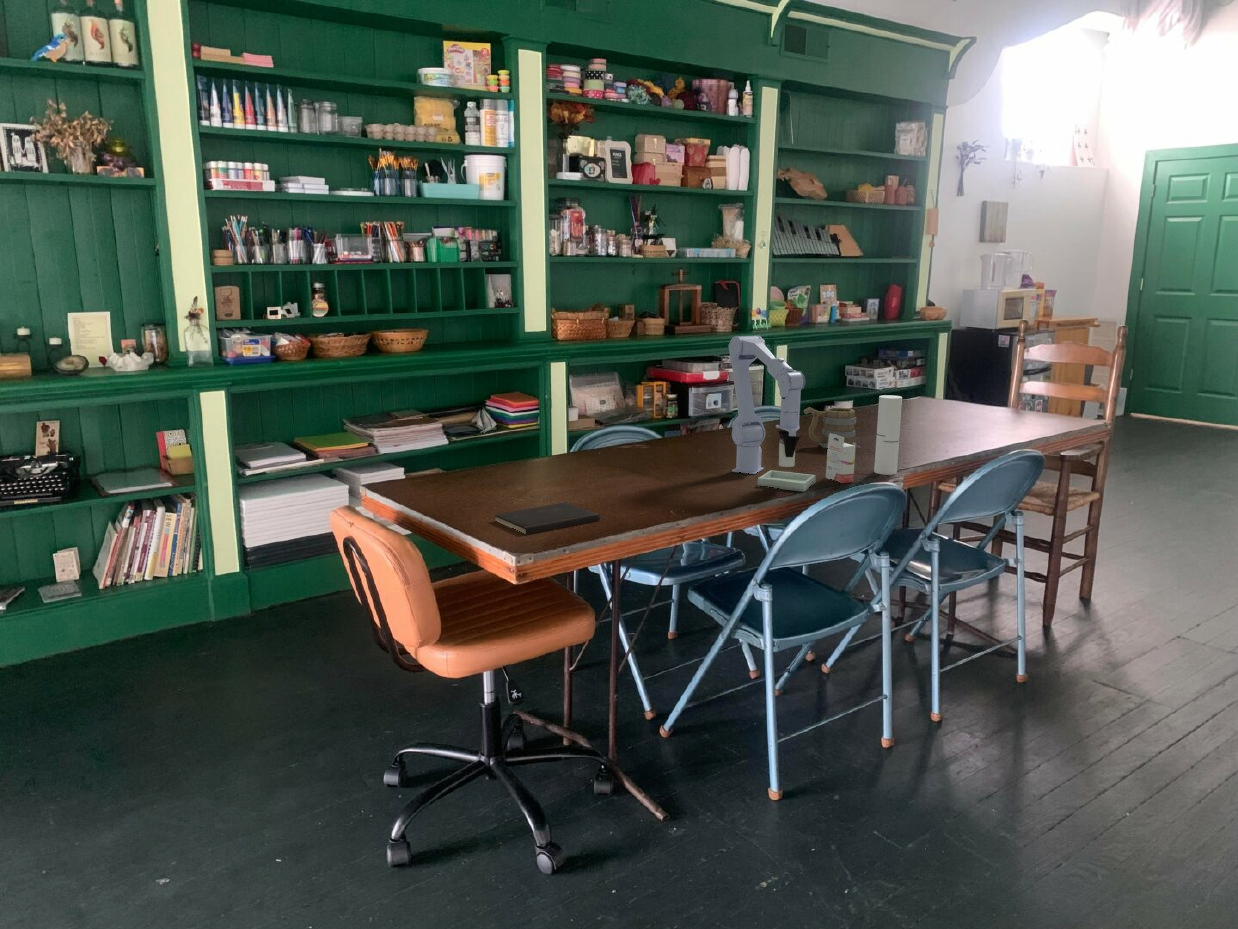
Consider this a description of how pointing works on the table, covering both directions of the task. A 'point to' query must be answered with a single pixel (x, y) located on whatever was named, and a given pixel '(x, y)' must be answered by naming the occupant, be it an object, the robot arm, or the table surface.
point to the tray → (787, 480)
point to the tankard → (833, 425)
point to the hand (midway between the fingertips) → (788, 455)
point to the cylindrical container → (888, 434)
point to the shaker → (783, 459)
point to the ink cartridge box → (840, 460)
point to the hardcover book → (546, 518)
